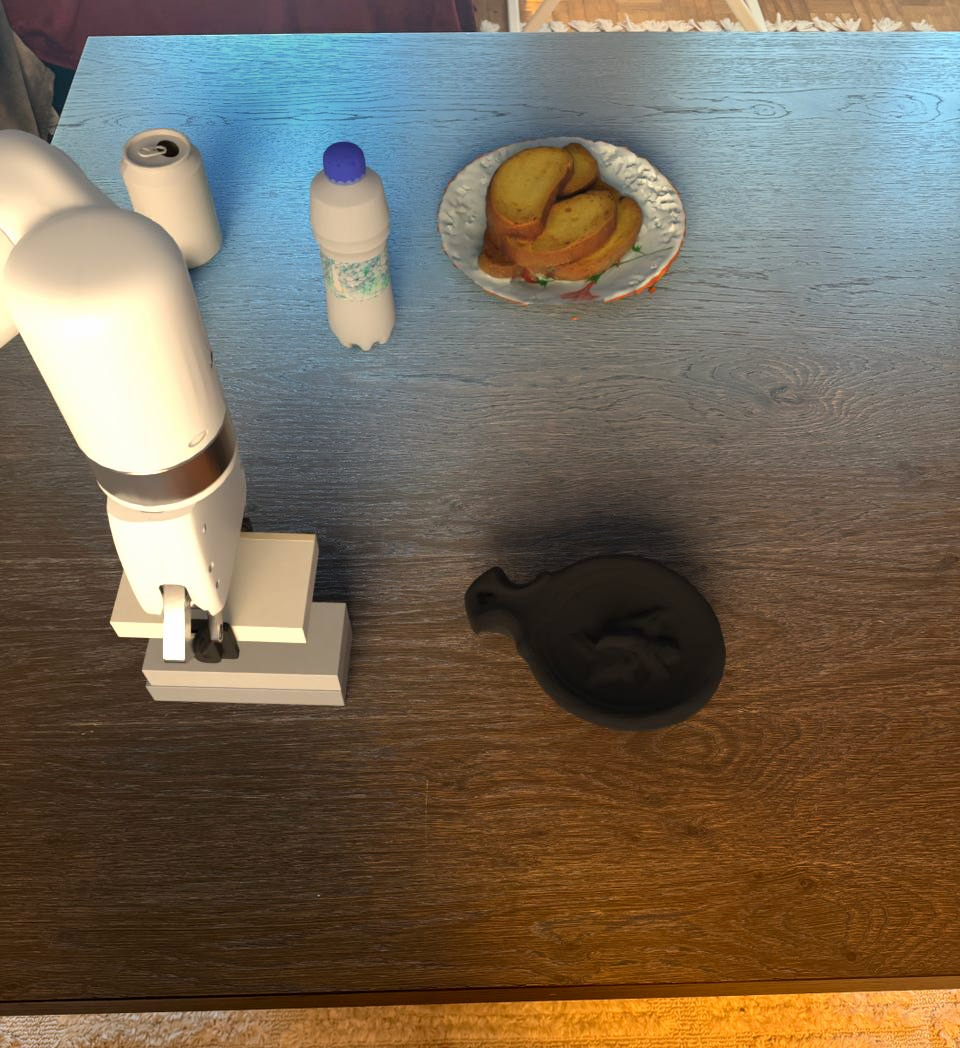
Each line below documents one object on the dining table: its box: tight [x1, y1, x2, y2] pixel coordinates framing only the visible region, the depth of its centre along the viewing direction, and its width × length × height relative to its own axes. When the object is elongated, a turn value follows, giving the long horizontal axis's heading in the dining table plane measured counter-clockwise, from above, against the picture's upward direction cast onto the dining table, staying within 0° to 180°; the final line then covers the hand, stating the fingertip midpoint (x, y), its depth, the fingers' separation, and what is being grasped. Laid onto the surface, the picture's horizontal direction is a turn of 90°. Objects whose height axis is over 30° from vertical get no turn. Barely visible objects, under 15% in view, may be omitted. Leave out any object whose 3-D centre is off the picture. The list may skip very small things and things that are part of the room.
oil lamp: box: [463, 553, 727, 733], centre depth 71 cm, size 15×20×5 cm
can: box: [119, 127, 223, 270], centre depth 93 cm, size 8×8×12 cm
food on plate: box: [436, 136, 687, 321], centre depth 97 cm, size 25×25×7 cm
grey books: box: [141, 601, 353, 707], centre depth 70 cm, size 14×6×5 cm, turn 89°
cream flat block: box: [109, 531, 320, 643], centre depth 63 cm, size 12×7×2 cm, turn 89°
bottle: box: [309, 140, 397, 352], centre depth 84 cm, size 7×7×20 cm
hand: (225, 600), depth 64 cm, fingers closed on cream flat block, 7 cm apart
